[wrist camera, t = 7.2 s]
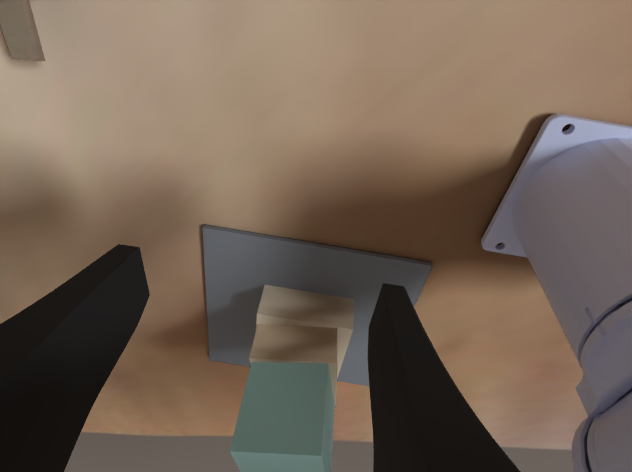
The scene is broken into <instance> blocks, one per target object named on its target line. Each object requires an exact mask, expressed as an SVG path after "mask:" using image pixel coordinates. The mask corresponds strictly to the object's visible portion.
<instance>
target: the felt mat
mask: <svg viewBox="0 0 632 472" xmlns="http://www.w3.org/2000/svg"><path fill="white" fill-rule="evenodd" d="M202 228H203V247H204V266H205V285H206V304H207V323H208V342H209V360H211V361H217V362H224V363H230V364H236V365H242V366H248V367H251V364H250V360H249V357H250V353H251V349H252V345H253V341H254V337H255V333H256V321H257V312H258V308H259V304H260V301H261V297H262V293H263V289H264V286H265V285H271V286H277V287H283V288H289V289H295V290H301V291H307V292H314V293H320V294H326V295H332V296H338V297H344V298H350V299H354V319H353V332H352V335H351V338H350V341H349V344H348V347H347V350H346V353H345V357H344V360H343V363H342V366H341V369H340V372H339V375H338V378H337V381H342V382H348V383H354V384H360V385H366V386H369V373H368V332H369V324H370V321H371V318H372V315H373V312H374V309H375V306H376V303H377V300H378V297H379V294H380V291H381V288H382V285H383V283H386V284H393V285H400V286H404V287H405V289H406V290H407V293H408V295H409V298H410V300H411V302H412V304H413V307H414V305H415V303H416V301H417V299H418V297H419V294H420V292H421V290H422V288H423V286H424V283H425V281H426V279H427V277H428V275H429V272H430V270H431V268H432V263H431V262H425V261H419V260H413V259H407V258H401V257H395V256H389V255H383V254H377V253H371V252H365V251H359V250H353V249H348V248H342V247H336V246H330V245H324V244H318V243H312V242H306V241H300V240H294V239H288V238H282V237H276V236H270V235H264V234H258V233H252V232H246V231H240V230H234V229H228V228H222V227H216V226H210V225H204V226H203V227H202Z"/></svg>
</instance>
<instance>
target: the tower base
mask: <svg viewBox="0 0 632 472" xmlns="http://www.w3.org/2000/svg"><path fill="white" fill-rule="evenodd" d="M353 319H354V299H350V298H344V297H338V296H332V295H326V294H320V293H314V292H307V291H301V290H295V289H289V288H283V287H277V286H271V285H265V286H264V289H263V293H262V297H261V301H260V304H259V308H258V312H257V321H256V329H257V326H258V324H271V325H290V326H310V327H329V328H337V378H338V375H339V372H340V369H341V366H342V363H343V360H344V357H345V353H346V350H347V347H348V344H349V341H350V338H351V335H352V332H353Z"/></svg>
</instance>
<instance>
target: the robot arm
mask: <svg viewBox="0 0 632 472" xmlns="http://www.w3.org/2000/svg"><path fill="white" fill-rule="evenodd" d="M567 124H571V127H570V128H569V129H568V130H566V131H562V128H563V127H564V126H565V125H567ZM498 243H502V244H501V245H497V244H498ZM481 245H482V248H483V249H484V250H486V251H491V252H497V253H503V254H509V255H515V256H521V257H526V258H528V260H529V262H530V264H531V266H532V268H533V270H534V272H535V274H536V276H537V278H538V280H539V282H540V284H541V287H542V289H543V291H544V293H545V295H546V297H547V299H548V301H549V303H550V305H551V307H552V309H553V311H554V313H555V315H556V317H557V319H558V321H559V323H560V325H561V327H562V329H563V331H564V333H565V336H566V338H567V340H568V342H569V344H570V346H571V348H572V350H573V352H574V354H575V356H576V358H577V360H578V362H579V364H580V366H581V368H582V370H583V378H582V380H581V382H580V383H579V384H578V385H577V387H576V390H577V392H578V395H579V397H580V399H581V401H582V403H583V406H584V408H585V410H586V412H587V414H588V418H586V419H585V420H584V421H583V422H582V423H581V424H580V426H579V427H578V429H577V430H576V432H575V435H574V438H573V442H572V462H573V469H574V472H632V126H627V125H621V124H615V123H610V122H604V121H598V120H592V119H587V118H581V117H575V116H570V115H564V114H554V115H551V116H550V117H548V118H547V119H546V120H545V121H544V123H543V125H542V127H541V128H540V130H539V132H538V134H537V136H536V138H535V140H534V142H533V144H532V145H531V147H530V149H529V151H528V153H527V155H526V157H525V159H524V160H523V162H522V164H521V166H520V168H519V170H518V172H517V174H516V175H515V177H514V179H513V181H512V183H511V185H510V187H509V189H508V190H507V192H506V194H505V196H504V198H503V200H502V202H501V204H500V205H499V207H498V209H497V211H496V213H495V215H494V217H493V219H492V220H491V222H490V224H489V226H488V228H487V230H486V232H485V234H484V236H483V237H482V239H481ZM149 295H150V294H149V289H148V285H147V280H146V276H145V271H144V266H143V262H142V257H141V252H140V248H139V247H133V246H127V245H120V244H119V245H117V246H116V247H114V248H113V249H111V250H110V251H108V252H107V253H106V254H104V255H103V256H102V257H100V258H99V259H97V260H96V261H95V262H93V263H92V264H90V265H89V266H88V267H86V268H85V269H83V270H82V271H81V272H79V273H78V274H76V275H75V276H74V277H72V278H71V279H69V280H68V281H66V282H65V283H64V284H62V285H61V286H59V287H58V288H56V289H55V290H54V291H52V292H51V293H49V294H48V295H46V296H44V297H43V298H41V299H40V300H38V301H37V302H35V303H34V304H32V305H30V306H29V307H27V308H26V309H24V310H23V311H21V312H20V313H18V314H16V315H15V316H13V317H12V318H10V319H8V320H7V321H5V322H3V323H1V324H0V472H64V470H65V468H66V465H67V463H68V460H69V458H70V456H71V453H72V451H73V449H74V446H75V444H76V441H77V439H78V437H79V435H80V432H81V430H82V428H83V426H84V423H85V421H86V419H87V417H88V414H89V412H90V410H91V408H92V406H93V404H94V402H95V400H96V398H97V396H98V394H99V393H100V391H101V389H102V387H103V386H104V384H105V382H106V380H107V378H108V377H109V375H110V373H111V371H112V370H113V368H114V366H115V364H116V363H117V361H118V359H119V357H120V356H121V354H122V352H123V350H124V349H125V347H126V345H127V343H128V342H129V340H130V338H131V336H132V334H133V333H134V331H135V329H136V327H137V325H138V323H139V320H140V318H141V316H142V313H143V311H144V308H145V306H146V303H147V300H148V298H149ZM368 373H369V386H370V399H371V411H372V424H373V441H374V472H520V471H519V470H518V468H517V467H516V466H515V465H514V463H513V462H512V461H511V460H510V459H509V457H508V456H507V455H506V454H505V452H504V451H503V450H502V449H501V447H500V446H499V445H498V444H497V443H496V441H495V440H494V439H493V438H492V436H491V435H490V434H489V432H488V431H487V430H486V428H485V427H484V425H483V424H482V423H481V421H480V420H479V419H478V417H477V416H476V415H475V413H474V412H473V410H472V409H471V407H470V406H469V404H468V403H467V402H466V400H465V399H464V397H463V396H462V394H461V393H460V391H459V389H458V388H457V386H456V385H455V383H454V382H453V380H452V378H451V377H450V375H449V373H448V372H447V370H446V368H445V367H444V365H443V363H442V361H441V360H440V358H439V356H438V354H437V352H436V351H435V349H434V347H433V345H432V343H431V341H430V339H429V338H428V336H427V334H426V332H425V330H424V328H423V326H422V324H421V322H420V320H419V317H418V315H417V313H416V311H415V309H414V307H413V304H412V302H411V300H410V298H409V295H408V293H407V290H406V289H405V287H404V286H400V285H393V284H386V283H383V285H382V288H381V291H380V294H379V297H378V300H377V303H376V306H375V309H374V312H373V315H372V318H371V321H370V324H369V332H368Z"/></svg>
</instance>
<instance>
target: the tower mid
mask: <svg viewBox="0 0 632 472" xmlns="http://www.w3.org/2000/svg"><path fill="white" fill-rule="evenodd" d="M249 360H250V364H251V363H252V362H285V363H328V365H329V372H330V378H331V385H332V391H333V398H334V408H336V390H337V328H329V327H310V326H290V325H271V324H258V326H257V329H256V333H255V337H254V341H253V345H252V349H251V353H250V357H249Z"/></svg>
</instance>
